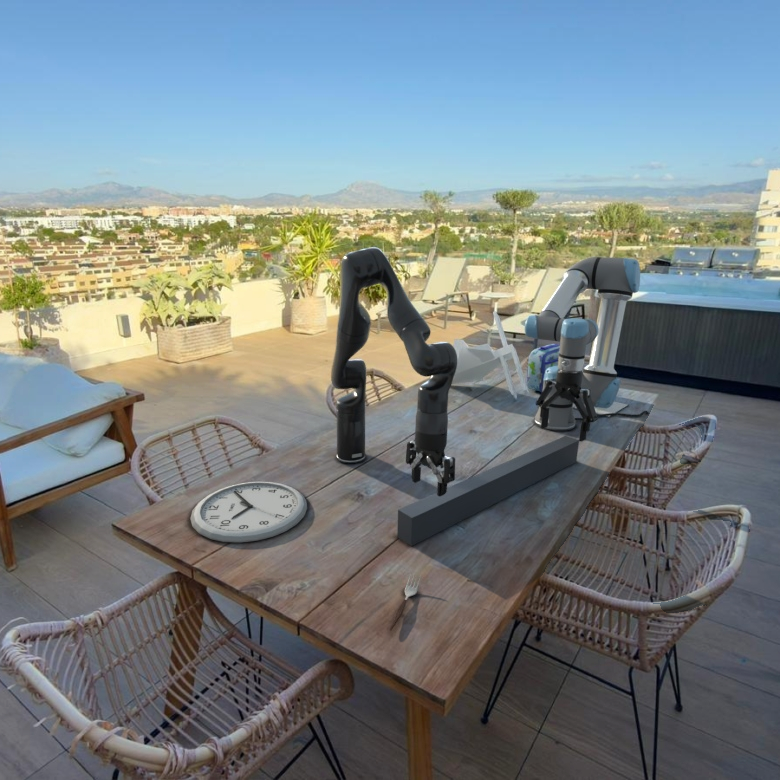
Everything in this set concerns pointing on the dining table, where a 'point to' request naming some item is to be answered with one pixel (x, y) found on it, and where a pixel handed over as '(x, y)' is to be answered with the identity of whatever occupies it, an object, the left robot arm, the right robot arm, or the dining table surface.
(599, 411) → the invitation card
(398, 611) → the fork
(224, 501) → the wall clock
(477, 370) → the white plastic object
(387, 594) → the dining table surface
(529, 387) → the lunch box
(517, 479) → the beam
